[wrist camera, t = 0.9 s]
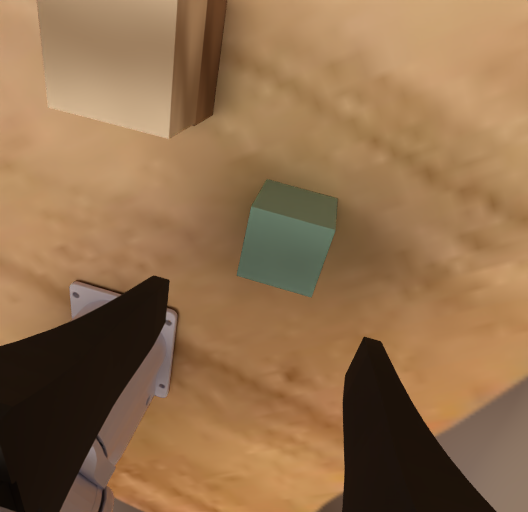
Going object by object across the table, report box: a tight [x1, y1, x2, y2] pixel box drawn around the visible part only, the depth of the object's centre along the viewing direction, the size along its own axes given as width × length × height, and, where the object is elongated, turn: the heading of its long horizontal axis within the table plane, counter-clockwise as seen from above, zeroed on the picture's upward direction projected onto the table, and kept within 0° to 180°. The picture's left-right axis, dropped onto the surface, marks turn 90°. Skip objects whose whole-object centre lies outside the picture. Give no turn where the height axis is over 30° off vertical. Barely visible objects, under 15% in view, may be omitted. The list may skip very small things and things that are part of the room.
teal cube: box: [237, 179, 338, 297], centre depth 20 cm, size 4×4×4 cm
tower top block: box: [37, 0, 207, 139], centre depth 15 cm, size 5×5×3 cm
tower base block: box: [192, 0, 227, 126], centre depth 17 cm, size 5×5×3 cm
